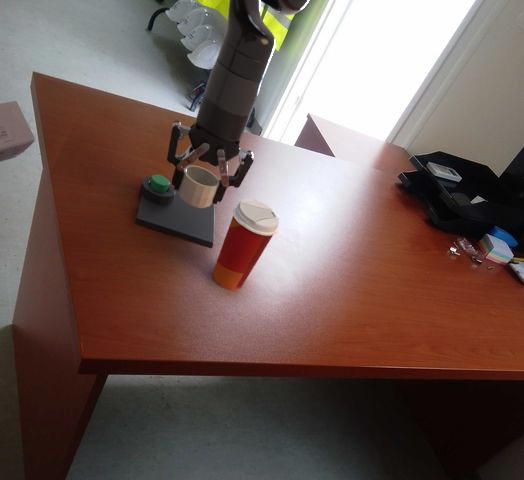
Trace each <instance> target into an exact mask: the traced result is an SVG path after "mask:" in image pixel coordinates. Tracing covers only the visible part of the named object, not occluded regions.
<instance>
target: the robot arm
mask: <svg viewBox="0 0 524 480" xmlns="http://www.w3.org/2000/svg"><path fill="white" fill-rule="evenodd" d="M309 1H310V0H229V1H228V13H227V23H226V29H225V32H224V35H223V39H222V42H221V46H220V48H219V51H218V54H217V57H216V59H215V63H214V64H213V67H212V68H211V71H210V74H209V76H208V79H207V81H206V83H205V89H204V93H203V95H202V99H201V103H200V105H199V109H198V112H197V116H196V119H195V121H194V123H192V125H190V126H187V125H183V124H181V121H179V120H177V119H176V120H174V121H173V122H172V127H171V132H170V139H169V144H168V151H167V155H166V156H167V157H166V161H167V163H169V164H172V165H173V166H174V171H173V174H172V177H171V185H173V186H174V189H175V190H178V189H179V186H180V183H181V180H182V176H183V173H184V169H185V168H186V167H187V166H189V165H193V164H194V163H195V162H196V160H198V161H200V162H203V163H208V164H209V165H211V166H213V167H216V168H217V167H218V169H219V176H220V179H219V187H218V190H217V192H216V194H215V197H214V200H213V202H212V203H214V204H215V205H217V204H218V203H221V202H222V201H223V199H224V196H225V194H226V192H227V191H226V190H227V189H228V188H229V187H234V188H235V189H238V188H240V187H241V185H242V183H243V181H244V179H245V178H246V176H247V174H248V173H249V170H250V169H251V167H252V165H253V163H254V152H253V151H252V150H251V149H250V150H245V149H244V148H241V145H240V144H241V140H242V138H243V135H244V133H245V130H246V127H247V125H248V123H249V120H250V118H251V115H252V112H253V109H254V108H255V104H256V102H257V100H258V97H259V94H260V88H261V86H262V82H263V80H264V77H265V74H266V72H267V69H268V67H269V64H270V61H271V59H272V56H273V53H274V51H275V47H276V38H275V35H274V34H273V32H272V31H271V30H270V28H269V27H268V26H267V25H266V23H265V22H264V21H263V19H262V15H261V3H262V4H264V5H266V6H267V7H268V8H270V9H271V10H273V11H274V12H276V13H277V14H280V15H282V16H292V15H296V14H298V13H299V12H301V11H302V10H304V8H305V7H306V6H307V5H308V3H309ZM185 136H188V138H189V141H190V144H191V145H190V146H189V147H187V149H186V150H185V151H184V152H183V153H182V154H181V155H179V154H177V149H178V144H179V141H183V140H184V139H185ZM235 157H238V163H239V165H238V167H237V168H236V170H235V172H234V174H233V175H229V168H228V167H229V165H228V162H229V161H231V160H232V159H234V158H235Z"/></svg>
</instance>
